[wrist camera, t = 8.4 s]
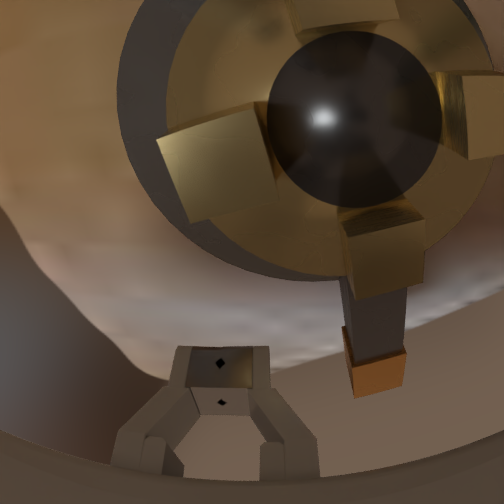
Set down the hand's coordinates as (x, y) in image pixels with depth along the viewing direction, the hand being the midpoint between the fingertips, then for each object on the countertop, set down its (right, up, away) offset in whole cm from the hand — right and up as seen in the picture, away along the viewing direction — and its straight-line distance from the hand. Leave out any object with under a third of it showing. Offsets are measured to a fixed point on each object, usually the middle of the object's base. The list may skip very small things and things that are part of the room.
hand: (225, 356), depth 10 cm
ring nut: (+4, +5, +1) cm, 7 cm away
